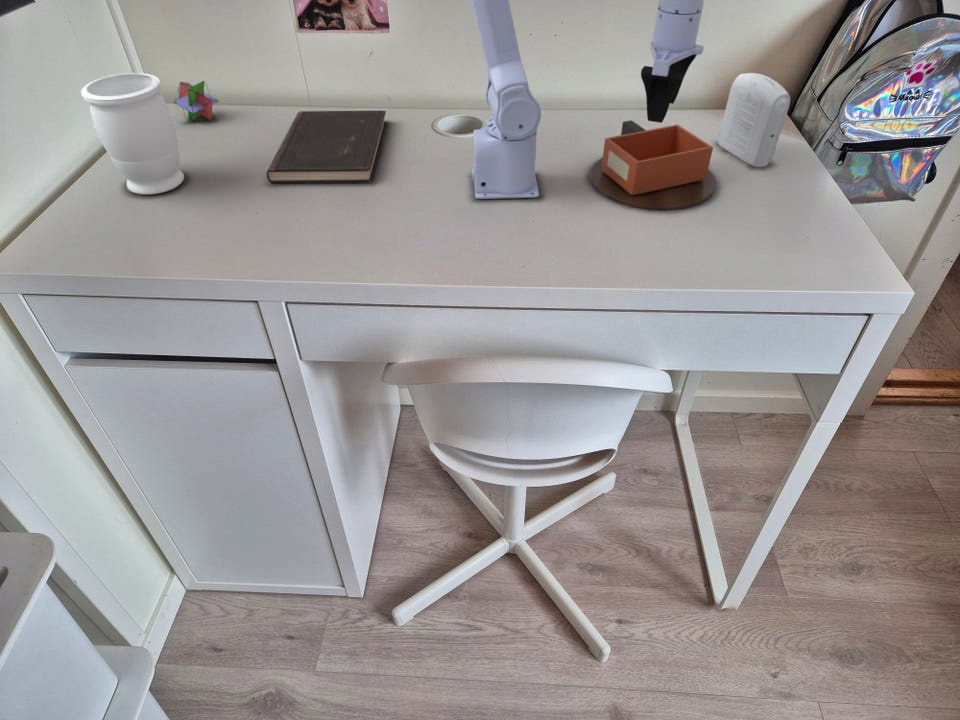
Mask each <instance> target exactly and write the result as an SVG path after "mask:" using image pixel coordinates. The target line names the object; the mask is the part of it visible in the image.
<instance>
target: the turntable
mask: <svg viewBox="0 0 960 720" xmlns="http://www.w3.org/2000/svg"><path fill="white" fill-rule="evenodd" d="M602 159H603V157H601V158H599V159H598V160H597V161H595V162H594V164H593V165H592V166H591V169H590V173H589V180H590V183H591V185H592V186H593V188H594V189H595V190H596V191H597V192H598V193H600V194H601V195H602V196H604V197H605V198H607V199H609V200H611V201H613V202H615V203H617V204H620V205H623V206H627V207H630V208H635V209H640V210H648V211H661V212H663V211H665V212H666V211H677V210H679V211H680V210H685V209H689V208H690V209H691V208H693V207H696V206H699V205H701V204H704V203H705V202H707V201H708V200H709V199H710V198H711V197H712V196H713V195H714V193H715V191H716V186H717V181H716V178H715V175H714V174H713V173H712V172H711V170H710V169H708V171H707V175H706V179H704V180H700V181H695V182H691V183H686V184H682V185H677V186H673V187H668V188H664V189H659V190H654V191H650V192H645V193H641V194H636V195H631V194H630V193H628V192H627V191H626V190H625V189H624V188H622V187H621V186H620V185H619V184H618V183H616V182H615V181H614V180H613V179H612V178H611V177H609V176H608V175H607V174H606V173H605V172H603V171H602V170H601V167H602Z"/></svg>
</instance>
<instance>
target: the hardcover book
mask: <svg viewBox="0 0 960 720" xmlns="http://www.w3.org/2000/svg"><path fill="white" fill-rule="evenodd" d="M386 113H387V111H386V110H310V111H307V110H305V111H303V110H302V111H297V113H296V115H295V117H294V119H293V121H292V123H291V124H290V127H289V129H288V130H287V132H286V134H285V136H284V139H283V140H282V142H281V144H280V146H279V148H278V149H277V152H276V153H275V156H274V157H273V159H272V161H271V164H270V165H269V167H268V169H267V171H266V178H267V180H268V182H269V183H271V184H275V185H277V184H372V183H373V178H374V175H375V171H376V167H377V164H378V159H379V155H380V151H381V148H382V144H383V139H384V136H385V132H386V128H387V125H388V124H387V123H388V121H386V120H385V117H386Z"/></svg>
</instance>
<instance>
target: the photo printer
mask: <svg viewBox="0 0 960 720" xmlns="http://www.w3.org/2000/svg"><path fill="white" fill-rule="evenodd" d="M790 105H791V96H790V94H789V92H788V91H787V90H786V89H785V87H783V86H782V85H781V84H780V83H778V82H777V81H776V80H774V79H773V78H771V77H770V76H767V75H764V74H761V73H758V72H757V73H756V72H746V73H740V74H739V75H738V76H737V77H736V78H735V79H734V81H733V82H732V84H731V88H730V91H729V94H728V99H727V102H726V107H725V110H724V115H723V118H722V122H721V126H720V129H719V133H718V138H717V145H718V146H720V147H721V148H723V149H724V150H726V151H727V152H729V153H730V154H732V155H734V157H737V158H738V159H739V160H741V161H742V162H745V163H746V164H748V165H750V166H753V167H754V168H764V167H767V166H768V165H769V164H770V163H771V162H772V160H773V157H774V156H775V155H774V154H775V152H776V149H777V146H778V142H779V139H780V137H781V133H782V129H783V126H784V123H785V121H786V119H787V118H786V117H787V115H788V111H789V108H790Z"/></svg>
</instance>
